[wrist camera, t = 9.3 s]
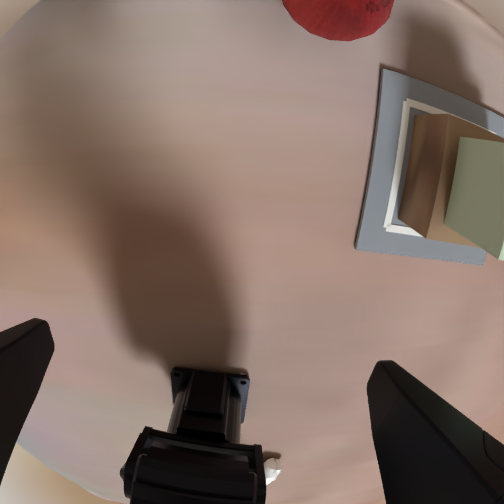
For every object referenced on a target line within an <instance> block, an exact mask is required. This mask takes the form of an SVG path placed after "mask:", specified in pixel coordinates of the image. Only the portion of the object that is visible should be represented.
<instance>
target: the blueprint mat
mask: <svg viewBox="0 0 504 504" xmlns="http://www.w3.org/2000/svg"><path fill="white" fill-rule="evenodd" d="M423 114H450V115H453V116H455V117H458V118H460V119H463V120H465V121H468V122H470V123H472V124H475V125H477V126H479V127H481V128H483V129H486V130H488V131H490V132H492V133H494V134H496V135H498V136H500V137H502V138H504V118H503V117H501V116H499V115H497V114H496V113H494V112H492V111H490V110H488V109H486V108H484V107H482V106H480V105H478V104H476V103H473V102H471V101H469V100H467V99H465V98H463V97H460V96H458V95H456V94H453V93H451V92H449V91H446V90H444V89H441V88H439V87H436V86H434V85H431V84H429V83H426V82H423V81H420V80H418V79H415V78H412V77H409V76H406V75H403V74H400V73H397V72H394V71H390V70H387V69H384V68H383V69H381V79H380V90H379V101H378V110H377V119H376V127H375V135H374V143H373V150H372V156H371V163H370V169H369V175H368V181H367V187H366V193H365V198H364V204H363V209H362V214H361V219H360V224H359V229H358V234H357V238H356V243H355V247H354V248H355V249H356V250H360V251H369V252H378V253H386V254H394V255H403V256H411V257H419V258H427V259H436V260H444V261H451V262H459V263H467V264H475V265H483V263H484V259H485V256H486V253H487V251H485V250H484V249H482V248H478V247H472V246H467V245H461V244H455V243H449V242H443V241H436V240H430V239H426V238H424V237H423V236H421V235H420V234H419V233H417V232H416V231H415V230H413V229H412V228H410V227H409V226H407V225H406V224H405V223H403V222H402V221H400V220H399V219H398V214H399V210H400V205H401V200H402V195H403V190H404V185H405V179H406V173H407V168H408V161H409V155H410V148H411V141H412V134H413V125H414V116H415V115H423Z"/></svg>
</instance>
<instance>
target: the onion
mask: <svg viewBox="0 0 504 504" xmlns="http://www.w3.org/2000/svg"><path fill="white" fill-rule="evenodd" d="M282 1H283V5H284V6H285V8H286V9H287V11H288V12H289V14H290V15H291V17H292V18H293V20H294V21H295V22H297V23H298V24H299V25H301V26H302V27H303V28H304V29H306V30H307V31H308V32H310V33H311V34H314V35H317V36H320V37H323V38H326V39H329V40H339V41H351V40H355V39H359V38H362V37H366V36H369V35H371V34H373V33H375V32H376V31H377V30H378V29H379V28H380V27H381V26H382V25H383V24H385V23H386V21H387V20H388V19H389V17H390V13H391V10H392V6H393V2H394V0H282Z"/></svg>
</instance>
